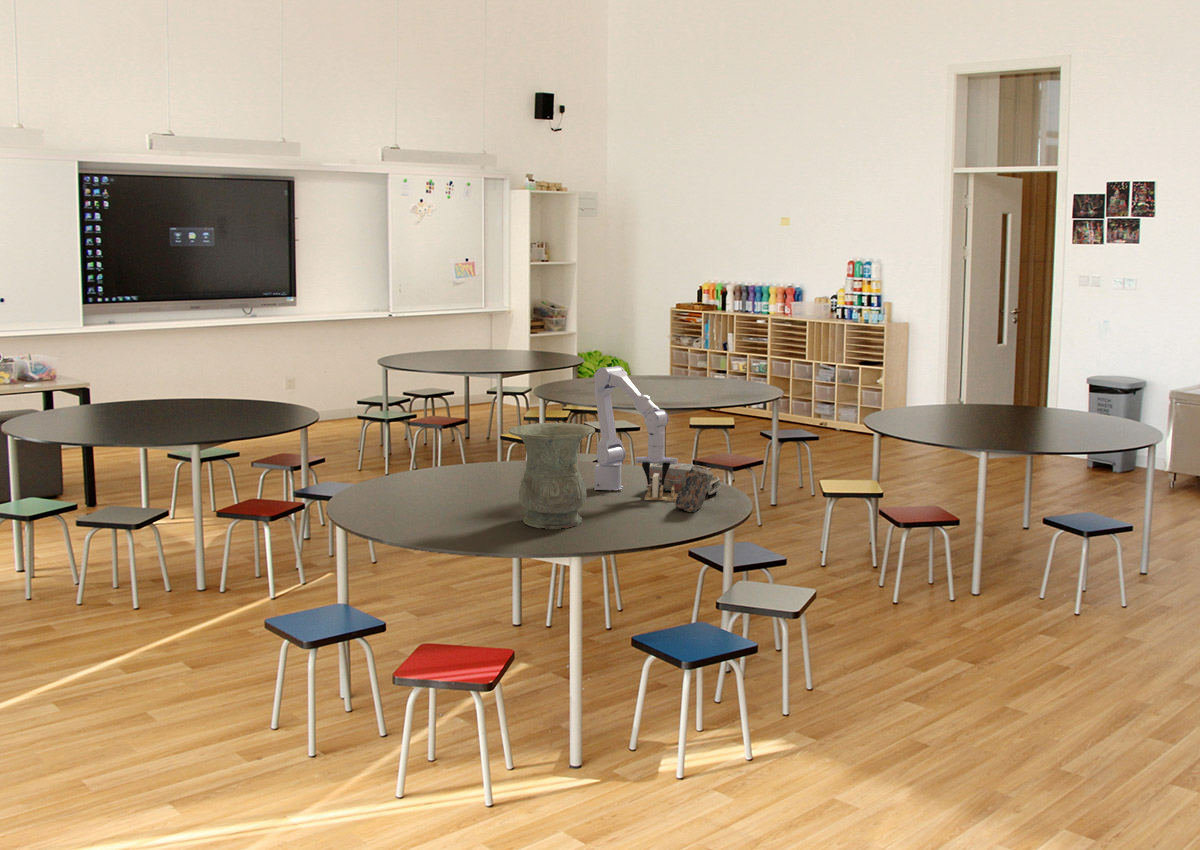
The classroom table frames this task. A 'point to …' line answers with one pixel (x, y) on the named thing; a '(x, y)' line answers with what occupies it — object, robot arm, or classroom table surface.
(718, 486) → the toy car
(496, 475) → the classroom table surface
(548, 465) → the vessel
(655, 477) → the tall cream block
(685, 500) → the stone
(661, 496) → the rack
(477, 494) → the classroom table surface
